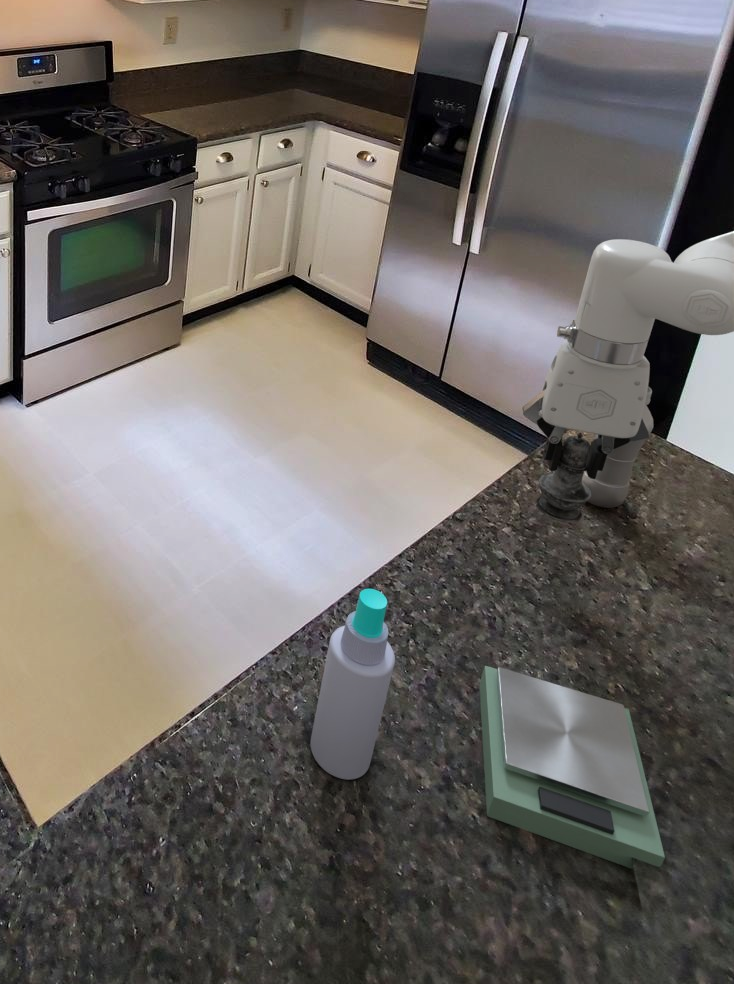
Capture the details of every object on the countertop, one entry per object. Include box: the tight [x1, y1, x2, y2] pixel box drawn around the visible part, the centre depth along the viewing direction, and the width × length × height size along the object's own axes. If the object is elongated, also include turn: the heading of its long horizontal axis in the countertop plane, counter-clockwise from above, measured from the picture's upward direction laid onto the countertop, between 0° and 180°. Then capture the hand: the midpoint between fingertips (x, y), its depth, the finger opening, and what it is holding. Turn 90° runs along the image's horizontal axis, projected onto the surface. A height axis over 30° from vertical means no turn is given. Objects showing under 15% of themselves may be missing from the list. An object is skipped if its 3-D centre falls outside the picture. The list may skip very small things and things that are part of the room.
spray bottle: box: [310, 588, 396, 781], centre depth 79 cm, size 6×6×22 cm
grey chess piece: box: [535, 431, 591, 524], centre depth 102 cm, size 6×6×12 cm
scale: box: [478, 665, 666, 870], centre depth 81 cm, size 14×16×4 cm
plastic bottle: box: [582, 386, 654, 509], centre depth 116 cm, size 6×7×20 cm
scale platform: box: [496, 666, 649, 817], centre depth 81 cm, size 12×12×1 cm
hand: (570, 467), depth 102 cm, fingers closed on grey chess piece, 3 cm apart
